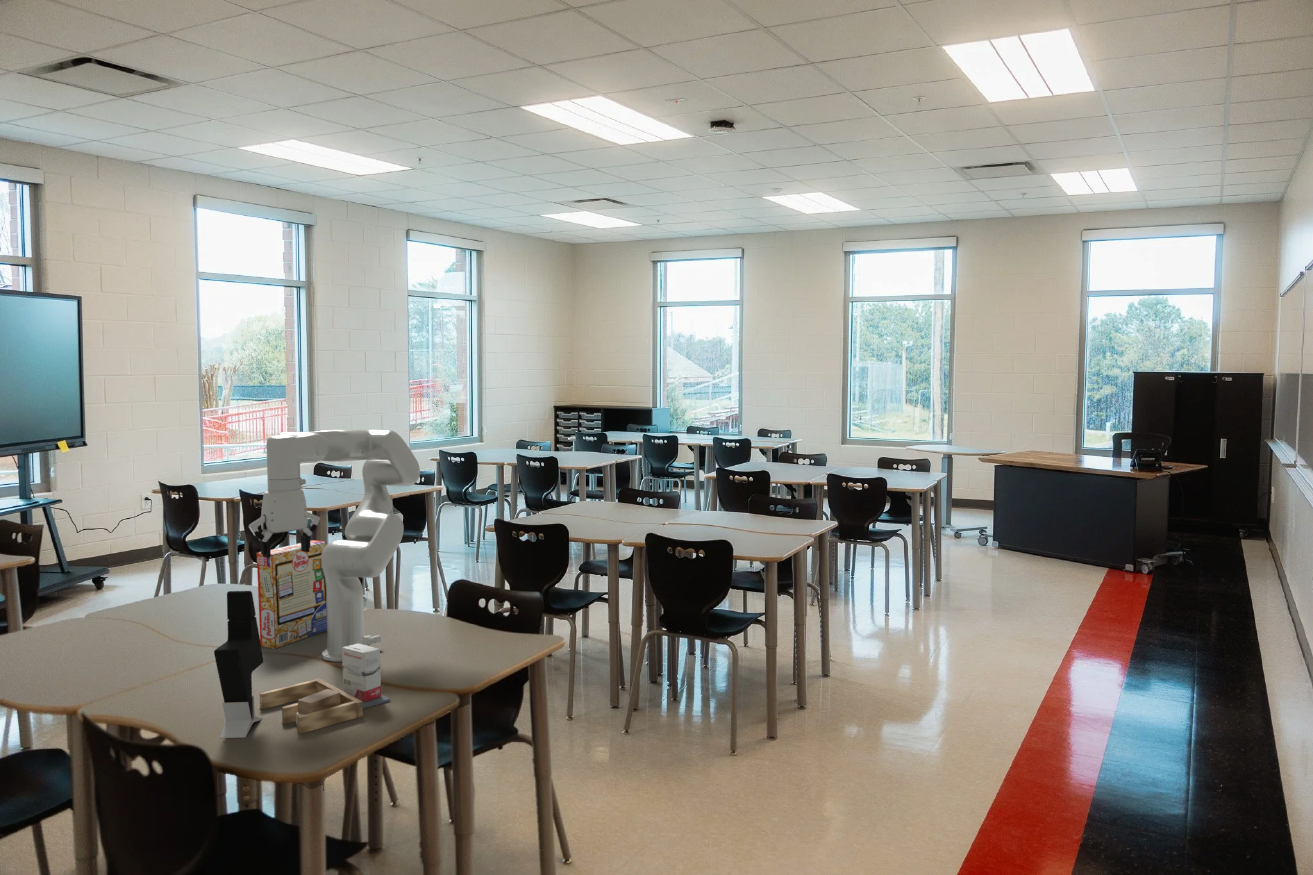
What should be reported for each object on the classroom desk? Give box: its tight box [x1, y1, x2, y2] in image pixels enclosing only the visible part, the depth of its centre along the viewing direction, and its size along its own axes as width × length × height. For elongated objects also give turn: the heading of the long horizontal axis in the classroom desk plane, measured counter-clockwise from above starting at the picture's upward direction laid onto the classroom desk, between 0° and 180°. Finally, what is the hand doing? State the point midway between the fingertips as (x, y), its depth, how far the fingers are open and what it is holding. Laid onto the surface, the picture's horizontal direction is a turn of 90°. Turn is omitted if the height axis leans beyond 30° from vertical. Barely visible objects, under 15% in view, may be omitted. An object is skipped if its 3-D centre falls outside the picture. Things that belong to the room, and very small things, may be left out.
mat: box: [362, 693, 391, 710], centre depth 217 cm, size 8×12×1 cm, turn 45°
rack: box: [259, 677, 364, 735], centre depth 208 cm, size 14×22×4 cm, turn 45°
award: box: [213, 590, 264, 739], centre depth 198 cm, size 15×5×30 cm, turn 5°
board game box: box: [256, 539, 327, 650], centre depth 264 cm, size 20×6×27 cm, turn 154°
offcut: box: [297, 689, 340, 715], centre depth 203 cm, size 8×4×3 cm, turn 150°
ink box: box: [341, 644, 382, 702], centre depth 216 cm, size 9×5×12 cm, turn 55°
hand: (286, 554), depth 226 cm, fingers open, 9 cm apart
